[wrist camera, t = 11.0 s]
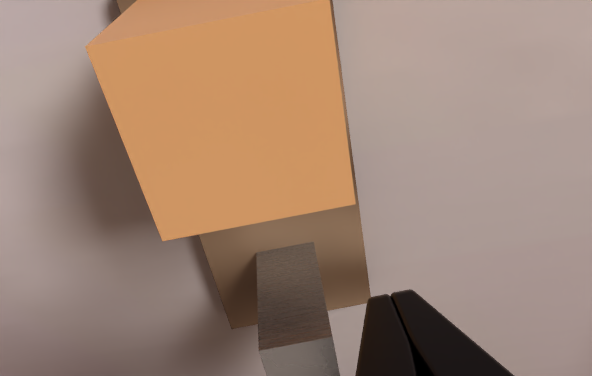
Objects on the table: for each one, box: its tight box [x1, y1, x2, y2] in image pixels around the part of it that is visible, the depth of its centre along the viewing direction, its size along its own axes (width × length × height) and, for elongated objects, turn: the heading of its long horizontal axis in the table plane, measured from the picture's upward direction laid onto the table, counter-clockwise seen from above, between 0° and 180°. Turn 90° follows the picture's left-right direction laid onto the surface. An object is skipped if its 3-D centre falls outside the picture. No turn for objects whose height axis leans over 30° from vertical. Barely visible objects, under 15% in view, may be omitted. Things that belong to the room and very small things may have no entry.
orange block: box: [85, 0, 356, 241], centre depth 14 cm, size 5×5×7 cm
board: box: [116, 0, 371, 329], centre depth 20 cm, size 16×7×1 cm, turn 10°
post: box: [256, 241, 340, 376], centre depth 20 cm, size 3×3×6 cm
